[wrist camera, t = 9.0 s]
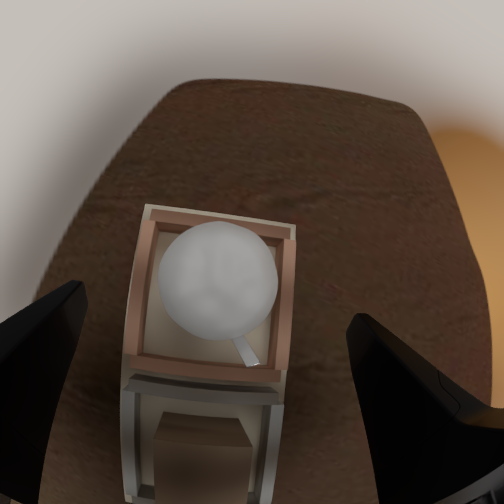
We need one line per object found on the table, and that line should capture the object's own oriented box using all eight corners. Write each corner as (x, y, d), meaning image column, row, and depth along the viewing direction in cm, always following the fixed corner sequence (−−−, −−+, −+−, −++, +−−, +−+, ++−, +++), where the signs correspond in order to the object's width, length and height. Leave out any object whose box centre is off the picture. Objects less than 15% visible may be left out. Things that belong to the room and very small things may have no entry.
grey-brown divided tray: (265, 505, 16) (287, 547, 10) (127, 495, 14) (112, 537, 8) (291, 229, 22) (323, 196, 16) (147, 209, 20) (132, 167, 14)
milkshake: (192, 351, 17) (182, 387, 8) (168, 272, 18) (135, 222, 9) (258, 330, 18) (319, 341, 9) (233, 254, 19) (267, 189, 10)
